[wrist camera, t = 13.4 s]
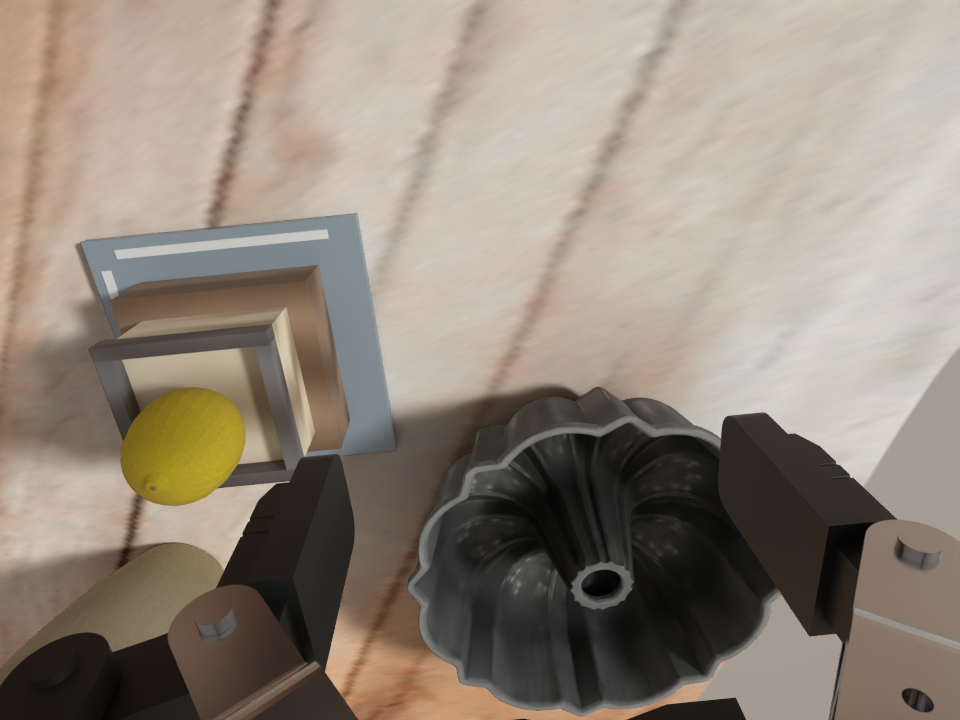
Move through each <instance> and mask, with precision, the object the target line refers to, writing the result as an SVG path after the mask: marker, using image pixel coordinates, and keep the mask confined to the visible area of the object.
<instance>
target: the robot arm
mask: <svg viewBox="0 0 960 720" xmlns="http://www.w3.org/2000/svg"><path fill="white" fill-rule="evenodd" d="M718 489H719V494H720V498H721V501H722V504H723V506H724V508H725V510H726V512H727V513H728V515H729V516H730V518H731V519H732V521H733V522H734V524H735V525H736V527H737V528H738V530H739V531H740V533H741V534H742V536H743V537H744V539H745V540H746V542H747V543H748V545H749V546H750V548H751V549H752V551H753V552H754V554H755V555H756V557H757V558H758V560H759V561H760V563H761V564H762V566H763V567H764V569H765V570H766V572H767V573H768V575H769V576H770V578H771V579H772V581H773V582H774V584H775V585H776V587H777V588H778V590H779V591H780V593H781V594H782V595H783V597H784V599H785V600H786V602H787V603H788V605H789V606H790V608H791V610H792V611H793V613H794V614H795V616H796V617H797V618H798V620H799V621H800V623H801V625H802V626H803V628H804V629H805V630H806V632H807V634H808V635H809V636H817V635H827V634H837V636H838V637H839V638H840V640H841V641H842V648H841V652H840V657H839V663H838V669H837V674H836V680H835V686H834V691H833V697H832V702H831V708H830V714H829V719H828V720H960V542H959V541H957V540H956V539H955V538H953V537H951V536H950V535H948V534H946V533H945V532H942V531H940V530H938V529H936V528H933V527H931V526H928V525H924V524H921V523H917V522H913V521H906V520H897V519H896V518H895V517H894V516H893V515H892V514H891V513H890V512H889V511H888V510H887V509H885V508H884V507H883V506H882V505H881V504H880V503H879V502H878V501H877V500H876V499H875V498H874V497H873V496H872V495H871V494H870V493H869V492H868V491H867V490H865V489H864V488H863V487H862V486H861V485H860V484H859V483H858V482H857V481H856V480H855V479H854V478H850V474H849V473H847V472H846V471H845V470H844V469H843V468H842V467H841V466H840V465H836V461H835V460H834V459H833V458H832V457H830V456H829V455H828V454H827V453H826V452H825V451H824V450H823V449H822V448H821V447H820V446H818V445H816V444H814V443H813V442H811V441H809V440H807V439H805V438H803V437H801V436H799V435H797V434H787V433H786V432H785V431H784V430H783V429H782V428H781V427H780V426H779V425H778V424H777V423H776V422H775V421H774V420H773V419H772V418H771V417H770V416H769V415H768V414H766V413H753V414H743V415H733V416H727V417H726V418H725V419H724V421H723V425H722V434H721V446H720V458H719V470H718ZM353 544H354V517H353V512H352V507H351V502H350V498H349V493H348V488H347V484H346V479H345V475H344V470H343V465H342V461H341V458H340V456H339V455H338V454H329V455H318V456H308V457H302V458H300V460H299V462H298V464H297V466H296V469H295V471H294V473H293V476H292V478H291V480H290V482H289V483H279V484H276V485H275V486H273V487H272V488H271V489H270V490H269V491H268V492H267V493H266V494H265V495H264V496H263V497H262V498H261V499H260V500H259V501H258V503H257V505H256V507H255V509H254V511H253V513H252V515H251V517H250V522H248V523H247V525H246V527H245V529H244V531H243V537H240V540H239V542H238V544H237V546H236V548H235V550H234V552H233V554H232V556H231V558H230V560H229V562H228V564H227V566H226V568H225V570H224V572H223V574H222V576H221V578H220V580H219V583H218V585H217V587H216V589H213V590H210V591H208V592H206V593H204V594H202V595H200V596H199V597H197V598H195V599H194V600H193V601H191V602H190V603H188V604H187V605H186V606H185V607H184V608H183V609H182V610H181V611H180V612H179V613H178V614H177V615H176V617H175V618H174V620H173V621H172V623H171V625H170V628H169V631H168V633H166V634H163V635H161V636H158V637H155V638H152V639H149V640H147V641H144V642H141V643H138V644H135V645H132V646H129V647H126V648H123V649H120V650H117V651H114V652H112V650H111V648H110V646H109V643H108V641H107V640H106V639H105V637H103V636H102V635H100V634H96V633H90V632H84V633H77V634H72V635H68V636H65V637H62V638H60V639H57V640H55V641H52V642H50V643H49V644H47V645H45V646H43V647H41V648H40V649H38V650H36V651H35V652H33V653H32V654H31V655H29V656H28V657H26V658H25V659H24V660H23V661H22V662H20V663H19V664H18V665H17V666H16V667H15V668H14V669H13V670H12V671H11V672H10V674H9V675H8V676H7V677H6V679H5V680H4V681H3V683H2V684H1V685H0V720H358V719H357V717H356V716H355V715H354V713H353V712H352V710H351V709H350V707H349V706H348V705H347V703H346V702H345V700H344V699H343V697H342V696H341V695H340V693H339V692H338V690H337V689H336V687H335V686H334V685H333V683H332V682H331V680H330V679H329V677H328V676H327V674H326V673H325V669H326V664H327V660H328V655H329V651H330V646H331V642H332V638H333V633H334V629H335V624H336V620H337V616H338V611H339V607H340V602H341V598H342V593H343V589H344V585H345V580H346V576H347V571H348V567H349V562H350V558H351V554H352V549H353ZM516 720H528V719H516ZM627 720H746V719H745V717H744V714H743V712H742V710H741V708H740V706H739V704H738V702H737V700H736V698H729V699H718V700H708V701H698V702H687V703H677V704H667V705H664V706H661V707H659V708H656V709H654V710H651V711H648V712H646V713H643V714H641V715H638V716H635V717H633V718H630V719H627Z"/></svg>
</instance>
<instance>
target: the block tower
mask: <svg viewBox="0 0 960 720" xmlns="http://www.w3.org/2000/svg"><path fill="white" fill-rule="evenodd" d="M110 303H111V306H112V309H113V311H114V314H115V317H116V320H117V323H118V325H119V328H120V331H121V334H122V336H120V337H119V338H117V339H115V340H104V341H100V342H98V343H97V344H95V345H94V346H92V347H91V348H89V352H90V354H91V357H92V360H93V362H94V365H95V368H96V370H97V373H98V375H99V378H100V381H101V383H102V386H103V389H104V391H105V394H106V396H107V399H108V402H109V404H110V407H111V409H112V412H113V415H114V417H115V420H116V423H117V425H118V428H119V430H120V433H121V436H122V438H123V441H124V439H125V437H126V435H127V432H128V430H129V428H130V426H131V424H132V423H133V421H134V420H135V418H136V417H137V416H138V415H139V414H140V413H141V412H142V410H143V409H144V408H145V407H146V406H147V405H148V404H150V403H151V402H152V401H154V400H156V399H157V398H159V397H161V396H162V395H164V394H166V393H168V392H171V391H175V390H178V389H182V388H194V387H198V388H204V389H210V390H212V391H215V392H217V393H220V394H221V395H223V396H224V397H226V398H227V399H229V400H230V401H231V402H232V403H233V404H234V405H235V406H236V407H237V409H238V411H239V413H240V414H241V416H242V418H243V422H244V425H245V446H244V450H243V453H242V456H241V458H240V461H239V463H238V465H237V466H236V468H235V469H234V471H233V472H232V473H231V475H230V476H229V477H228V479H227V480H226V481H225V482H224V483H223V484H222V485H221V486H219V487H218V488H224V487H234V486H244V485H255V484H265V483H275V482H285V481H290V480H291V478H292V476H293V473H294V471H295V469H296V466H297V464H298V462H299V460H300V458H302V457H305V455H306V453H307V452H313V451H324V450H334V449H341V447H342V444H343V441H344V438H345V435H346V432H347V429H348V426H349V423H350V417H349V412H348V407H347V402H346V397H345V392H344V387H343V382H342V377H341V372H340V367H339V362H338V358H337V353H336V348H335V343H334V338H333V333H332V328H331V323H330V318H329V313H328V308H327V303H326V298H325V293H324V288H323V283H322V278H321V273H320V269H319V265H312V266H302V267H292V268H282V269H271V270H261V271H251V272H241V273H231V274H221V275H211V276H200V277H190V278H180V279H170V280H160V281H150V282H141V283H139V284H137V285H136V286H134V287H132V288H130V289H129V290H127V291H125V292H124V293H122V294H120V295H118V296H117V297H115V298H113V299H111V300H110Z"/></svg>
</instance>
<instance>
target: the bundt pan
mask: <svg viewBox="0 0 960 720" xmlns="http://www.w3.org/2000/svg"><path fill="white" fill-rule="evenodd" d="M720 446H721V439H720V438H719V437H718V436H717V435H715V434H714V433H712V432H710V431H708V430H706V429H704V428H701V427H698V426H694V425H693V424H692V423H690V422H689V421H688V420H687V419H686V418H684V417H683V416H682V415H681V414H680V413H678V412H677V411H676V410H674V409H673V408H672V407H670V406H668V405H666V404H664V403H662V402H659V401H657V400H653V399H648V398H631V399H626V400H623V401H620V400H619V399H618V398H616V397H615V396H613V395H612V394H611V393H609V392H608V391H606V390H605V389H603V388H601V387H596V388H593V389H592V390H591V391H589V392H588V393H586V394H585V395H583V396H582V397H580V398H579V399H577V400H576V401H573V400H570V399H567V398H562V397H545V398H539V399H537V400H534V401H532V402H529V403H528V404H526V405H524V406H523V407H522V408H520V409H519V410H518V411H517V412H516V413H515V414H514V415H513V417H512V418H511V419H510V421H509V422H508V424H502V425H486V426H483V427H482V428H480V429H479V431H478V432H477V435H476V439H475V443H474V447H473V451H472V452H471V453H468V454H466V455H464V456H463V457H461V458H460V459H458V460H457V461H456V462H455V463H454V464H453V465H452V466H451V467H450V468H449V469H448V471H447V472H446V474H445V475H444V477H443V479H442V482H441V484H440V487H439V490H438V493H437V497H436V500H435V504H434V507H433V511H432V512H431V513H430V514H429V515H428V517H427V519H426V520H425V522H424V524H423V526H422V529H421V532H420V536H419V542H418V557H419V561H418V564H417V568H416V570H415V571H414V573H413V574H412V575H411V576H410V578H409V579H408V585H407V590H408V592H409V593H410V594H411V595H412V597H413V598H414V599H415V600H416V601H417V602H418V603H419V604H420V613H419V630H420V634H421V636H422V639H423V640H424V642H425V644H426V645H427V647H428V648H429V649H430V650H431V651H432V652H433V653H434V654H435V655H437V656H438V657H439V658H441V659H443V660H444V661H446V662H448V663H450V664H452V665H454V666H455V667H456V669H457V674H458V678H459V681H460V682H461V683H462V684H463V685H467V686H476V687H484V688H486V689H488V690H489V691H490V692H491V693H492V695H494V696H495V697H496V698H498V699H499V700H501V701H503V702H504V703H506V704H509V705H511V706H514V707H517V708H521V709H526V710H535V711H541V710H553V709H562V710H565V711H567V712H570V713H572V714H574V715H577V716H585V715H588V714H590V713H593V712H595V711H597V710H599V709H602V708H609V709H631V708H638V707H642V706H646V705H650V704H653V703H656V702H658V701H660V700H663V699H664V698H666V697H668V696H670V695H671V694H673V693H675V692H676V691H677V690H678V689H679V688H681V687H682V686H683V685H687V684H692V683H700V682H704V681H708V680H709V679H711V678H712V677H713V675H714V673H715V671H716V670H717V668H718V666H719V664H720V663H721V662H723V661H725V660H727V659H729V658H732V657H733V656H735V655H737V654H739V653H740V652H742V651H743V650H745V649H746V648H747V647H749V646H750V645H751V644H752V643H753V642H754V641H755V640H756V639H757V638H758V636H759V635H760V634H761V633H762V631H763V630H764V628H765V627H766V624H767V622H768V620H769V616H770V611H771V603H772V602H773V601H775V600H776V599H777V598H778V597H779V596H780V595H781V593H780V591H779V590H778V588H777V587H776V585H775V584H774V582H773V581H772V579H771V578H770V576H769V575H768V573H767V572H766V570H765V569H764V567H763V566H762V564H761V563H760V561H759V560H758V558H757V557H756V555H755V554H754V552H753V551H752V549H751V548H750V546H749V545H748V543H747V542H746V540H745V539H744V537H743V536H742V534H741V533H740V531H739V530H738V528H737V527H736V525H735V524H734V522H733V521H732V519H731V518H730V516H729V515H728V513H727V512H726V510H725V508H724V506H723V504H722V501H721V498H720V494H719V489H718V470H719V458H720Z"/></svg>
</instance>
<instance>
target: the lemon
mask: <svg viewBox="0 0 960 720" xmlns="http://www.w3.org/2000/svg"><path fill="white" fill-rule="evenodd" d="M244 446H245V425H244V422H243V418H242V416H241V414H240V413H239V411H238V409H237V407H236V406H235V405H234V404H233V403H232V402H231V401H230V400H229V399H227V398H226V397H224V396H223V395H221V394H220V393H217V392H215V391H212V390H210V389H204V388H198V387H194V388H182V389H178V390H175V391H171V392H168V393H166V394H164V395H162V396H161V397H159V398H157V399H156V400H154V401H152V402H151V403H150V404H148V405H147V406H146V407H145V408H144V409H143V410H142V412H141V413H140V414H139V415H138V416H137V417H136V418H135V420H134V421H133V423H132V424H131V426H130V428H129V430H128V432H127V435H126V437H125V439H124V442H123V444H122V448H121V461H120V462H121V467H122V471H123V475H124V477H125V479H126V481H127V482H128V484H129V485H130V487H131V488H132V489H133V490H134V491H135V492H136V493H137V494H139V495H140V496H141V497H143V498H144V499H147V500H149V501H151V502H153V503H157V504H161V505H170V506H178V505H185V504H190V503H193V502H195V501H198V500H200V499H202V498H204V497H206V496H208V495H209V494H210V493H212V492H213V491H214V490H216V489H217V488H218V487H219V486H221V485H222V484H223V483H224V482H225V481H226V480H227V479H228V477H229V476H230V475H231V473H232V472H233V471H234V469H235V468H236V466H237V465H238V463H239V461H240V458H241V456H242V453H243V450H244Z"/></svg>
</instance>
